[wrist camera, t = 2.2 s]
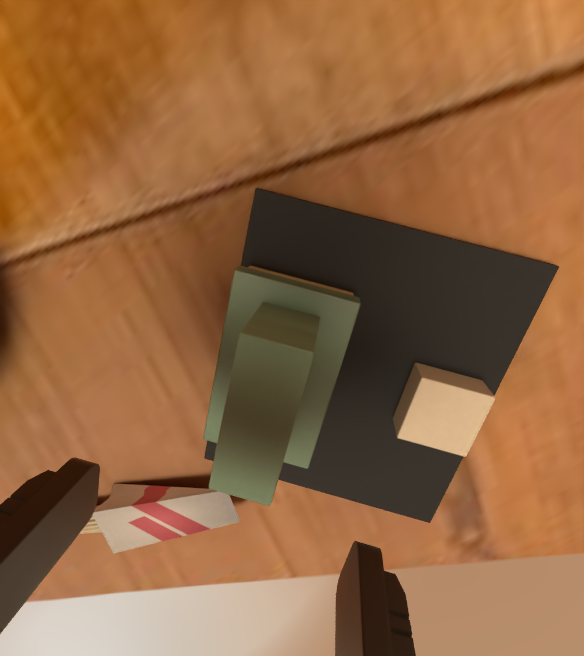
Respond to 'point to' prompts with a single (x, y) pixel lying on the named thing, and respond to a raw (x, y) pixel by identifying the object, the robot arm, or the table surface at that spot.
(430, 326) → the mat
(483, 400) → the beige square block
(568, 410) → the table surface
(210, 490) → the paintbrush
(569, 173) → the table surface
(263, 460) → the green stepped block
